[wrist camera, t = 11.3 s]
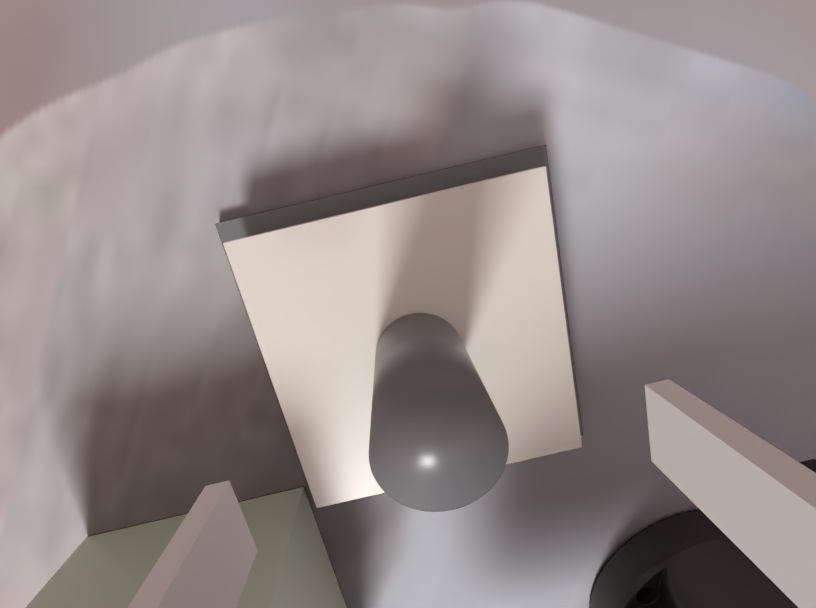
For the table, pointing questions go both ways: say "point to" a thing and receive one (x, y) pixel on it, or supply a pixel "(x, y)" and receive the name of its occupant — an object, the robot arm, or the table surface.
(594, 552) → the table surface
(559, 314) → the lid
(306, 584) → the box
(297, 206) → the mat
